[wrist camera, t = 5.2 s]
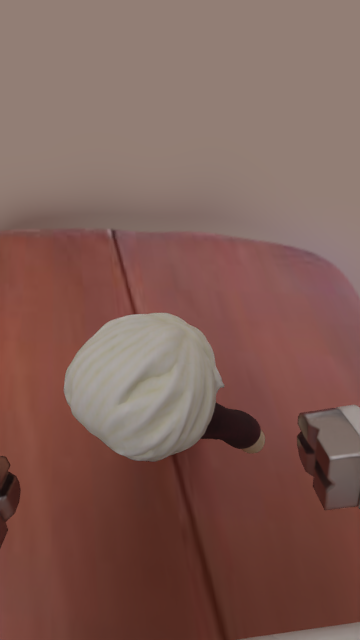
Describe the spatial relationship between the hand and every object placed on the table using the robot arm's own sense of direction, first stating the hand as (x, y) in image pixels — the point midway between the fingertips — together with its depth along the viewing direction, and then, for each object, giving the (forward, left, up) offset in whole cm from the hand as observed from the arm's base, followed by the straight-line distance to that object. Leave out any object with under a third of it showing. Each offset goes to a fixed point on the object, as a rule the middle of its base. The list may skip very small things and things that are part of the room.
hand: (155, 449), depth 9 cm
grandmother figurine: (0, -1, -9) cm, 9 cm away
